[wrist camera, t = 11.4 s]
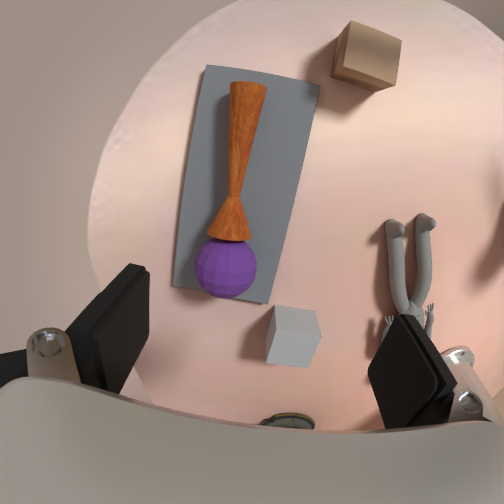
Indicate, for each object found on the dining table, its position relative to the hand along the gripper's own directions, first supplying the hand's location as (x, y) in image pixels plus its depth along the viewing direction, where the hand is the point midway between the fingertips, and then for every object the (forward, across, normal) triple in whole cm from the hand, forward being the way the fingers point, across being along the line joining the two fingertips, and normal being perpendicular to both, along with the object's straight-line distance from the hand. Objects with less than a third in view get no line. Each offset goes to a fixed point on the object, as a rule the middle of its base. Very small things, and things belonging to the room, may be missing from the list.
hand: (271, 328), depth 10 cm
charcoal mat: (+21, +3, -1) cm, 21 cm away
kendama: (+20, +3, -1) cm, 20 cm away
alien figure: (+22, -20, +9) cm, 31 cm away
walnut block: (+21, -6, -17) cm, 27 cm away
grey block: (+21, -6, +14) cm, 26 cm away
